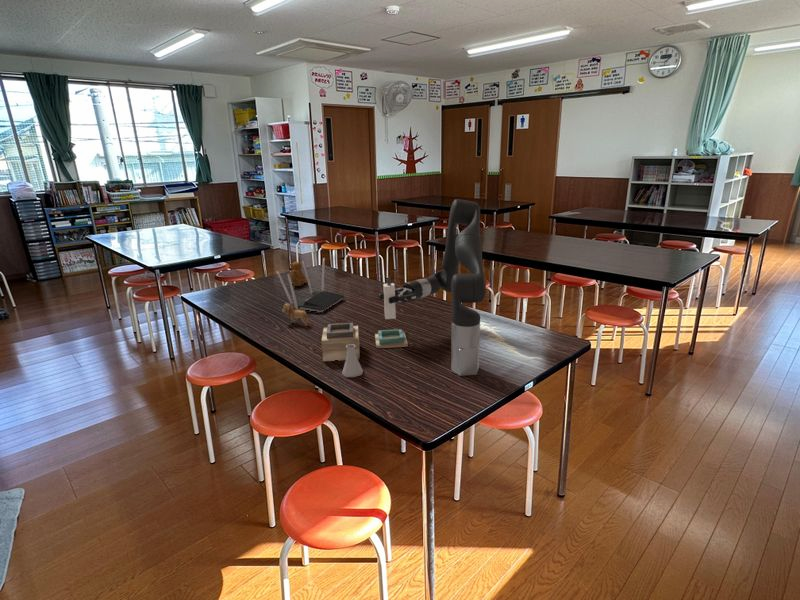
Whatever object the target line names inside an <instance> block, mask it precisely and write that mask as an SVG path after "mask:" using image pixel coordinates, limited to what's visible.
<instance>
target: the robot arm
mask: <svg viewBox="0 0 800 600" xmlns="http://www.w3.org/2000/svg"><path fill="white" fill-rule="evenodd" d="M480 224H481V208H480V205H479V203H477V202H476V201H473V200H472V201H471V200H466V199H461V198H460V199H459V198H456V199H454V200H453V201H452V204H451V207H450V211H449V217H448V223H447V231H446V242H445V249H444V252H443V257H442V261H441V268H442V269H443V270H442V269H439V270H438V271H436V272H435V273H433V274H432V275H430V276H428V277H425V278H420V279H415V280H412V281H408V282H405V283H404V285H403V286H402V287H397V288H395V296H393V297H390V298H389V303H390V304H391V303H395V304H396V303H397V302H398V303H403V304H405V303H410V302H413V301H414V302H415V301H416V300H420V299H423V298H426V297H427V296H429V295H433V294H436V293H438V292H439V291H440V289H442V290H444V291H445V292H446V293H451V342H450V343H451V344H450V345H451V351H450V352H451V356H450V357H451V364H450V366H451V367H450V369H451V371H452V372H453V373H455V374H457V375H458V376H459V377H461V376H463V377H465V376H477V375H478V372H479V368H480V367H479V366H480V338H481V336H480V335H481V332H480V331H481V315H480V313H479V312H478V311H477V310H475V309H471V308H469V307H467V306H465V305H464V304H468V303H470V304H471V303H472V304H475V303H476V304H478V303H483V302H484V301H485V299H486V295H487V283H486V278H485V272H484V265H483V248H482V247H483V246H482V238H481V227H480V226H481V225H480ZM457 225H462V226H467V227H465V228H464V229H463V230H461V231H460V232H459V233H458V234H457V231H456V230H457V229H456V228H457ZM460 264H461V265H462V266H464V267H465V268H466V269H467V270H468V272H470V273H459V266H460ZM378 300H379V301H382V300H384V292H382V293H379V294H378Z"/></svg>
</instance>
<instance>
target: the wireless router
mask: <svg viewBox="0 0 800 600" xmlns="http://www.w3.org/2000/svg"><path fill="white" fill-rule="evenodd" d="M325 259H326V258H325V257H323V258H322V264H321V265H322V266H321V268H322V269H321V271H322V272H321V291H319V290H316V291H313V289H312V285H311V281H310V277H309V274H308V271H307V267H306V264H305V262H304V260H301V265H302V266H303V267H302V268H303V272H304V275H305V277H306V279H307V282H308V283H307V284H308V285H307V286H308V288H309V292H310V294H307V295H306V296H304V297H303V298H301V299H299V300H297V297H296V293H295V290H294V285H292V281H291V277H290V275H289V273H287V274H286V275H287V280H288V284H289V287H290V293H291V295H290V293H289V290H288V288H287V286H286V284H285V281H284V280H283V277H282V276H281V273H280V272H279V271H278V270H276V271H275V272H276V274H277V276H278V279H279V281H280V283H281V285H282V287H283V290H284V292H285V294H286V297H287V299H288V301H289V304H291V305H293V306H294V307H295V308H296V309H297V310H299V309H304V310H310V311H309V312H311V311H317V312H316V313H320V312H321V313H324V312H325V311H326V309H327V310H328V309H330V308H331V307H333V306H334V305H336V304H337V303H339V302H340V301H342V299H343V298H345V296H344V295H343V294H339V293H333V292H328V291H325V273H326V272H325V269H326V267H325V266H326V265H325V263H326V262H325ZM332 305H333V306H332ZM329 307H330V308H329ZM324 310H325V311H324ZM323 311H324V312H323Z"/></svg>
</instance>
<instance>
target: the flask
mask: <svg viewBox="0 0 800 600" xmlns="http://www.w3.org/2000/svg"><path fill="white" fill-rule="evenodd" d="M355 347H356V345H354V344H349V345H346V348H347V358H346V360H344V365H343V369H342V372H341V375H343V376H344V377H345V378H357V377H358V376H362V375H363V373H364V371H363V368H362V365H361V364H360V362H359V359H357V357H356V353H355Z"/></svg>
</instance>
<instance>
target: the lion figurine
mask: <svg viewBox="0 0 800 600" xmlns="http://www.w3.org/2000/svg"><path fill="white" fill-rule="evenodd" d="M281 311H282V313H283V314H285V315H287V316H288V317H289V318H290V320H291V323H292V322H294V320H295V321H296V320H297V319H300V321H301V322H302V323H303V324H304V326H307V327H308V324H309V326H313V324H314V323H313V324H312V323H311V322H310V320H309V318H308V315H307V311H303V310H302V311H301V310H297V309H296V308H295V307H294V306H293V305H291V304H290V303H284V304H283V308H282V309H281ZM297 321H298V320H297ZM294 323H295V322H294Z"/></svg>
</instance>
